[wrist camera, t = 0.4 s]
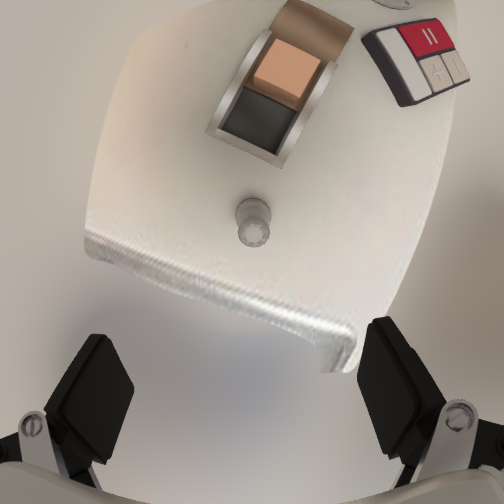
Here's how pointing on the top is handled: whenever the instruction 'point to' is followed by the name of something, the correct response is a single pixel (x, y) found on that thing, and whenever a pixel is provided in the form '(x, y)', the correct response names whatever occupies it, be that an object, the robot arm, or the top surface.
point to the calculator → (416, 60)
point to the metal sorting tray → (270, 106)
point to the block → (285, 71)
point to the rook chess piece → (253, 222)
